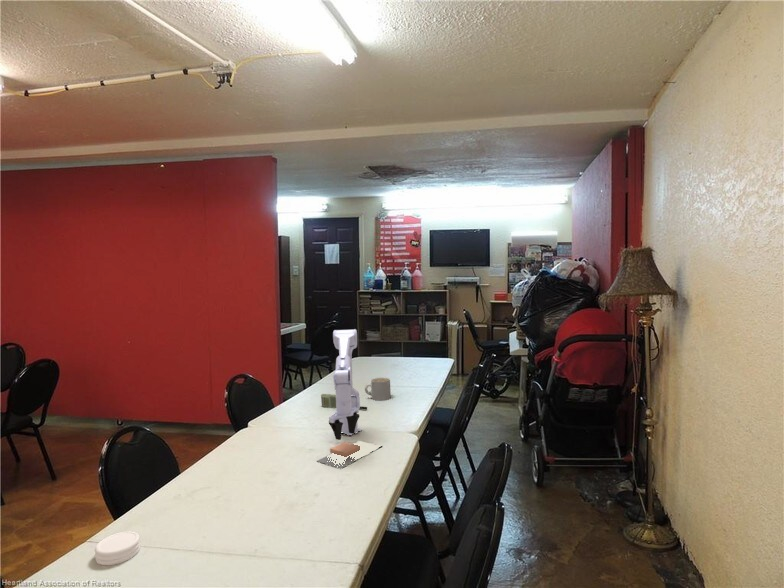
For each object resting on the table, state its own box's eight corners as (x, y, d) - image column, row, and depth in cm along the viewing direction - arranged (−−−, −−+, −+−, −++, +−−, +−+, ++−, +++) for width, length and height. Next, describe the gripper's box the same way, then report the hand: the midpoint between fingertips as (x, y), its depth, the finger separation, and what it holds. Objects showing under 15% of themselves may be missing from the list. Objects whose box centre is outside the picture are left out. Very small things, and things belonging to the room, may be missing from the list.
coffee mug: (391, 395, 261) (391, 377, 260) (389, 400, 251) (388, 381, 250) (367, 395, 262) (366, 377, 262) (364, 400, 252) (363, 382, 252)
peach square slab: (330, 448, 183) (345, 453, 178) (344, 441, 189) (359, 445, 184) (330, 453, 183) (346, 457, 178) (344, 446, 189) (360, 450, 184)
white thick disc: (86, 562, 120) (85, 548, 120) (121, 540, 129) (120, 527, 129) (115, 570, 116) (114, 556, 116) (149, 547, 126) (148, 534, 125)
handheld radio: (324, 405, 247) (368, 409, 237) (321, 408, 244) (365, 412, 234) (323, 393, 246) (367, 396, 237) (320, 395, 243) (364, 398, 234)
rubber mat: (316, 461, 176) (316, 460, 176) (359, 440, 195) (359, 440, 195) (341, 469, 169) (341, 468, 169) (382, 446, 188) (382, 445, 188)
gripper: (338, 407, 174) (339, 444, 175) (363, 397, 186) (365, 432, 187) (324, 404, 178) (325, 440, 179) (350, 395, 190) (351, 429, 191)
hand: (345, 436), depth 183 cm, fingers open, 7 cm apart
